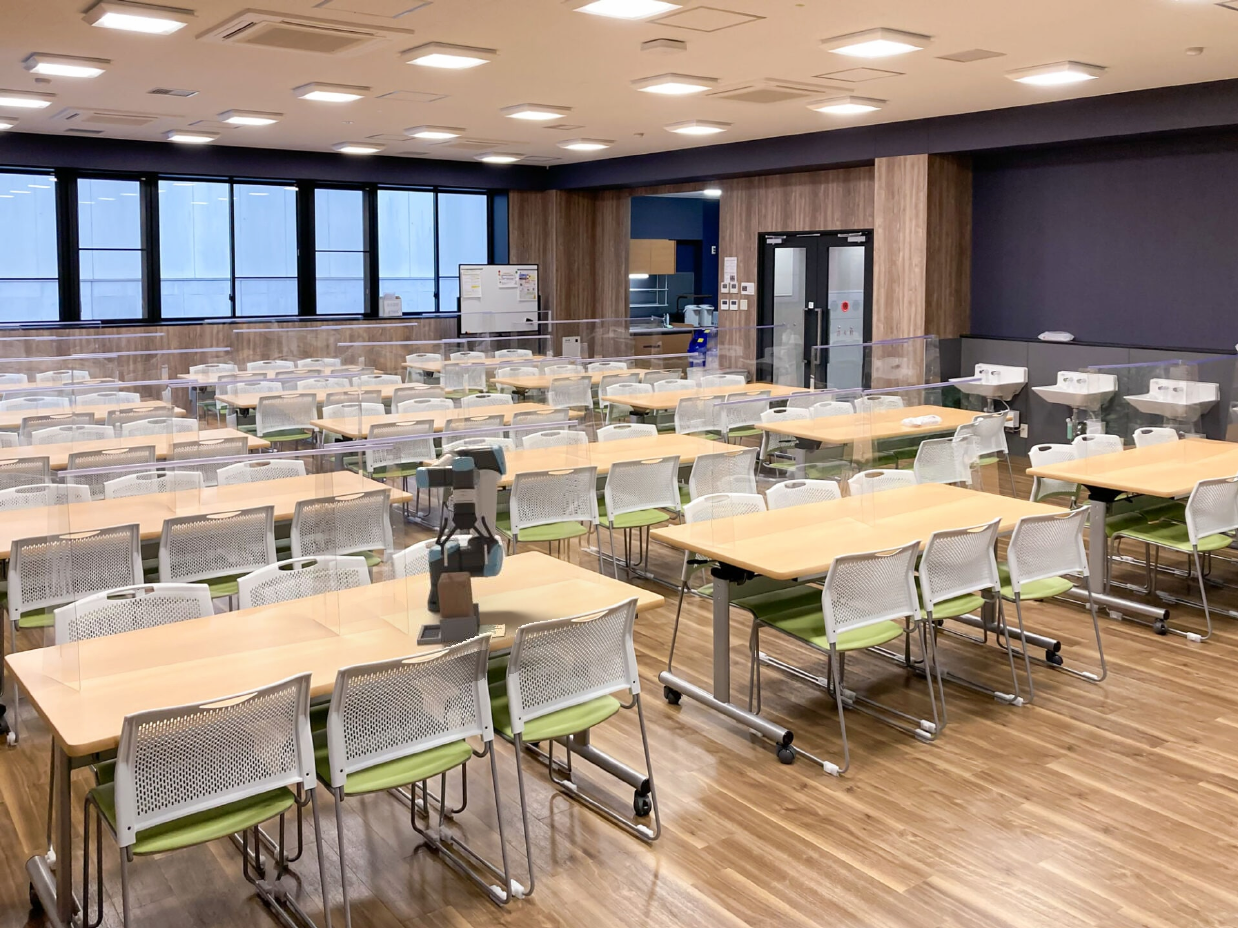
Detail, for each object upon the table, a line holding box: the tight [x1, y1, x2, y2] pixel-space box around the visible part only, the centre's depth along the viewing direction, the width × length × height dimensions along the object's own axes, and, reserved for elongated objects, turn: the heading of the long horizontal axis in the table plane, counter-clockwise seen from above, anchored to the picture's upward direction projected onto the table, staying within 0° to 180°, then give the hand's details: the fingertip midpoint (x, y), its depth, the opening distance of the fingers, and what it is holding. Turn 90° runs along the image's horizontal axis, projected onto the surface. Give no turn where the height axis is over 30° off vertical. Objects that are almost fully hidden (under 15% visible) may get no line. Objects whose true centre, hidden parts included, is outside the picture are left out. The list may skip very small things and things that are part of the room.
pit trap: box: [416, 623, 442, 645], centre depth 396 cm, size 16×8×2 cm, turn 4°
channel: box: [438, 602, 481, 643], centre depth 396 cm, size 16×12×8 cm
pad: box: [477, 623, 502, 636], centre depth 398 cm, size 13×9×1 cm
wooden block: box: [438, 572, 474, 619], centre depth 395 cm, size 10×10×20 cm
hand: (466, 565), depth 396 cm, fingers open, 13 cm apart
